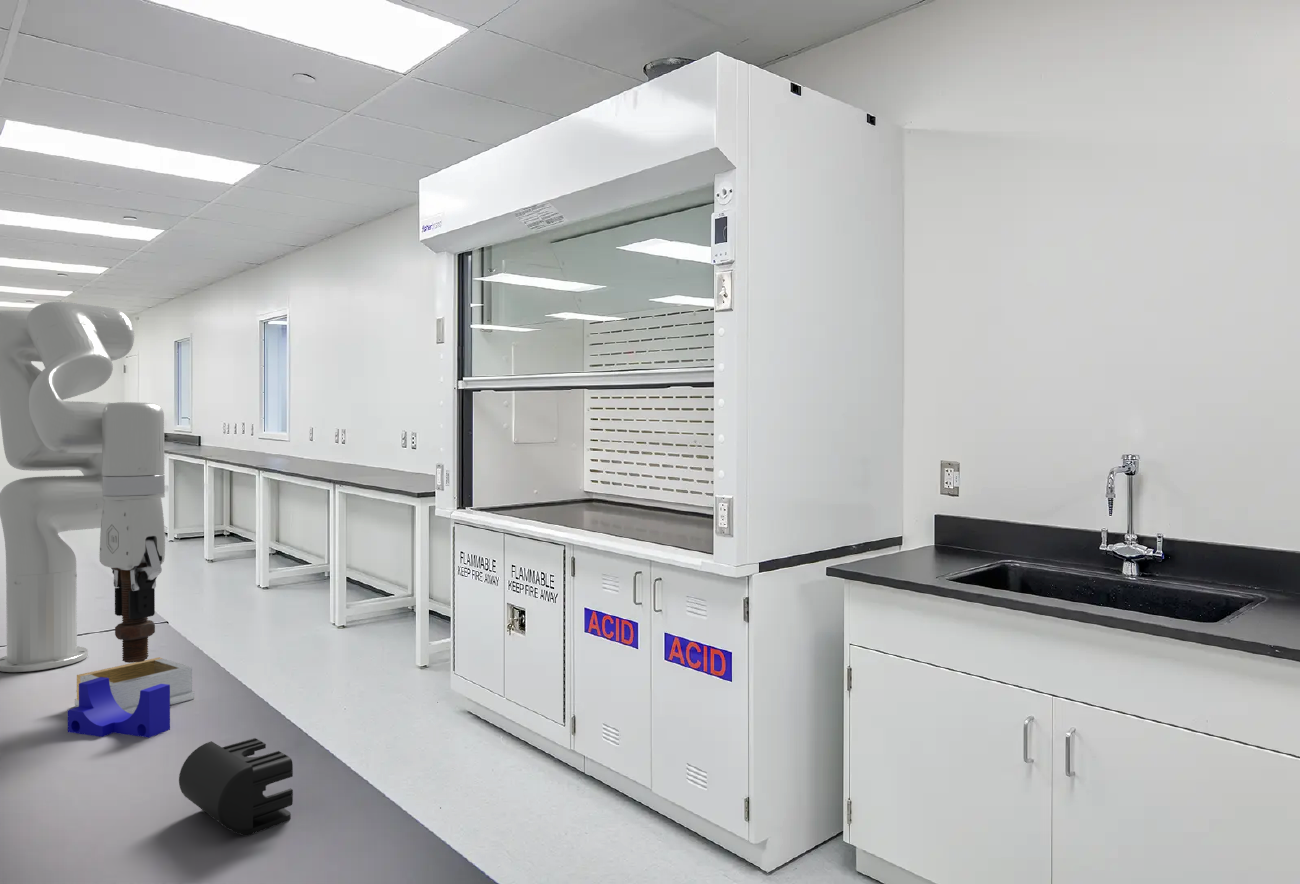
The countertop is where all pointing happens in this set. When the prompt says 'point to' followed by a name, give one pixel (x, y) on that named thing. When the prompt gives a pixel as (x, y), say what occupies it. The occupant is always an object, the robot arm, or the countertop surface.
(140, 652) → the bolt
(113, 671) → the shallow open tray
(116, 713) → the cable clip
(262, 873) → the countertop surface
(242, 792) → the end cap
